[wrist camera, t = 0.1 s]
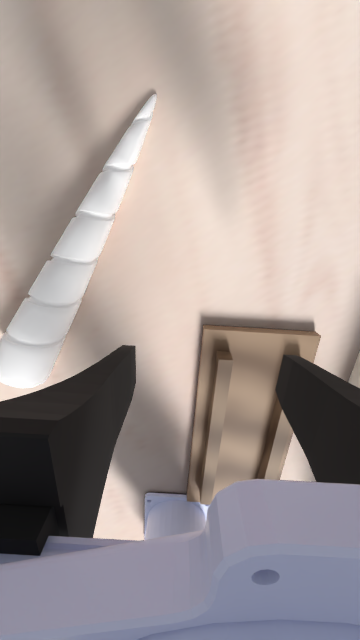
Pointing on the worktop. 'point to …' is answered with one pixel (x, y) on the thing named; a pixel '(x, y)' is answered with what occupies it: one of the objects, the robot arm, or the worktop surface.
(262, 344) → the railed tan base plate
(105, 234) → the unicorn horn
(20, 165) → the worktop surface
